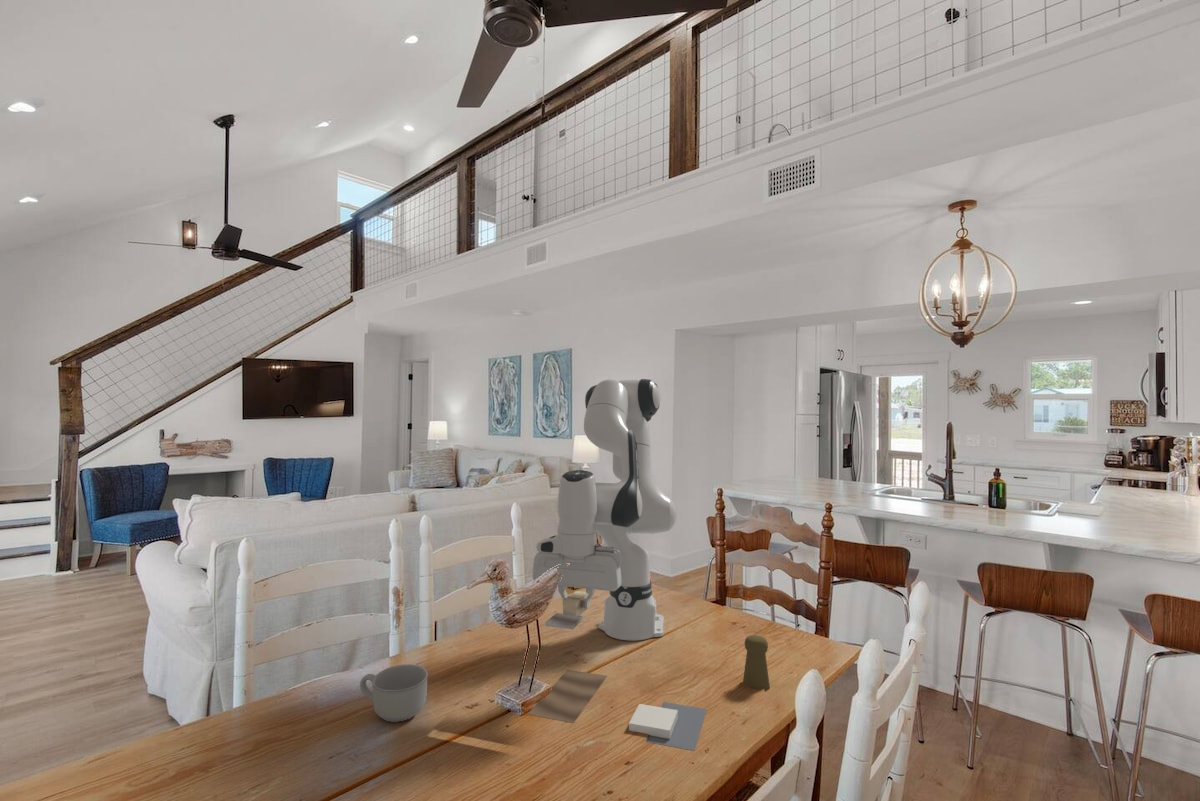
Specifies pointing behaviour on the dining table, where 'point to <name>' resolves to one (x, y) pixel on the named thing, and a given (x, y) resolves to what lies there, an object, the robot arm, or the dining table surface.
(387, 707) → the teacup
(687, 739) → the mat
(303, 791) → the dining table surface
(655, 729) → the tile
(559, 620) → the beige upright plank
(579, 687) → the board
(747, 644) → the olive green pawn
